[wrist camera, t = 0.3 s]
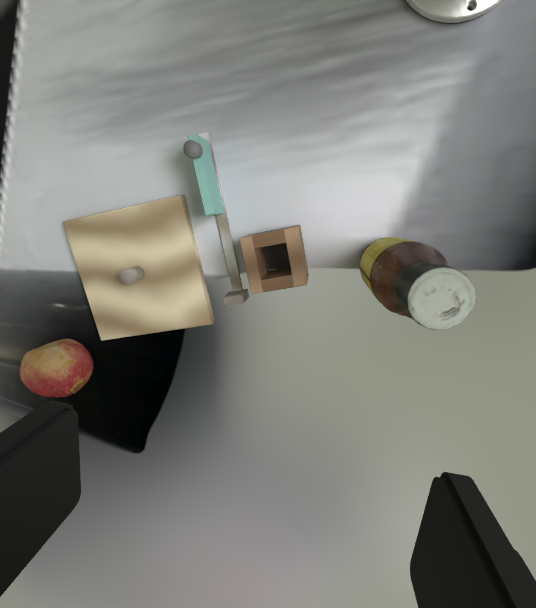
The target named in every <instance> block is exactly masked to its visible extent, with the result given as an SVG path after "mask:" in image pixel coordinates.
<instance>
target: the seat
mask: <svg viewBox="0 0 536 608" xmlns="http://www.w3.org/2000/svg"><path fill="white" fill-rule="evenodd" d="M199 136H200V137H202V138H204V139H205V140H207V141H209V146H210V150H211V155H212V159H213V164H214V169H215V173H216V178H217V182H218V187H219V191H220V196H221V201H222V205H223V210H224V213H223V214H219V215H216V217H217V222H218V226H219V231H220V235H221V240H222V244H223V249H224V253H225V257H226V262H227V266H228V271H229V275H230V280H231V284H232V289H233V291H232V292H229V293H228V294H227V295H225V296H224V297H223V300H224V305H225V306H227V305H233V304H239V303H244V302H245V301H246V300H247V299H248V297H249V294H248V289H245V290H243V288H242V284H241V279H240V274H239V270H238V265H237V261H236V256H235V251H234V247H233V242H232V238H231V233H230V228H229V224H228V219H227V215H226V210H225V205H224V201H223V196H222V191H221V187H220V182H219V178H218V173H217V168H216V164H215V159H214V155H213V150H212V145H211V141H210V136H209V132H206V133H202V134H199ZM63 225H64V228H65V231H66V234H67V237H68V240H69V243H70V246H71V249H72V252H73V255H74V258H75V261H76V264H77V268H78V271H79V274H80V277H81V280H82V283H83V286H84V289H85V292H86V295H87V298H88V301H89V304H90V307H91V310H92V314H93V317H94V320H95V323H96V326H97V329H98V332H99V335H100V338H101V341H102V340H108V339H115V338H122V337H128V336H135V335H142V334H149V333H155V332H162V331H169V330H176V329H182V328H189V327H196V326H202V325H209V324H212V323H213V322H214V321H215V320H214V316H213V312H212V308H211V304H210V300H209V295H208V292H207V288H206V283H205V279H204V275H203V271H202V266H201V262H200V258H199V254H198V250H197V246H196V242H195V237H194V233H193V229H192V225H191V221H190V217H189V213H188V209H187V204H186V200H185V196H184V195H178V196H174V197H169V198H165V199H161V200H156V201H152V202H147V203H143V204H139V205H134V206H130V207H125V208H121V209H117V210H112V211H108V212H103V213H99V214H95V215H90V216H86V217H81V218H77V219H73V220H68V221H64V222H63Z"/></svg>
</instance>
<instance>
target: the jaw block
mask: <svg viewBox="0 0 536 608" xmlns="http://www.w3.org/2000/svg"><path fill="white" fill-rule="evenodd" d="M239 239H240V243H241V248H242V253H243V257H244V262H245V267H246V272H247V276H248V281H249V286H250V290H251V294H254V293H261V292H266V291H273V290H279V289H286V288H292V287H298V286H304V285H307V280H308V275H309V274H308V269H307V263H306V257H305V251H304V245H303V239H302V233H301V228H300V225H296V226H291V227H286V228H281V229H276V230H271V231H266V232H261V233H255V234H250V235H248V236H245V237H242V238H239ZM281 243H286V244H287V250H288V255H289V261H290V266H291V267H288V268H282V269H276V270H271V271H269V270H268V265H267V260H266V255H265V250H264V247H265V246H271V245H276V244H281Z"/></svg>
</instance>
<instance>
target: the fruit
mask: <svg viewBox="0 0 536 608" xmlns="http://www.w3.org/2000/svg"><path fill="white" fill-rule="evenodd" d="M92 372H93V360H92V357H91V355H90V353H89V351H88V350H87V349H86V348H85V347H84V346H83V345H82V344H80V343H79V342H77V341H75V340H72V339H61V340H57V341H53V342H51V343H48V344H45V345H43V346H41V347H39V348H36V349H33V350H30V351H29V352H27V353H26V354H25V355H24V357H23V359H22V362H21V367H20V377H21V380H22V382H23V383H24V384H25V386H26V387H27V388H29V389H30V390H31V391H32V392H33V393H35V394H38V395H41V396H45V397H67V396H69V395H71V394H74V393H76V392H77V391H78V390H80V389H81V388H82V387H83V386H84V385H85V384H86V383H87V381H88V380H89V378H90V376H91V374H92Z"/></svg>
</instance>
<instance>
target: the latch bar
mask: <svg viewBox="0 0 536 608" xmlns="http://www.w3.org/2000/svg"><path fill="white" fill-rule="evenodd" d="M187 137H188V141H187V142H186V143H185V144H184V153H185V154H186V155H187V156H188V157H190V158H192V159H193V163H194V167H195V172H196V176H197V180H198V185H199V189H200V193H201V198H202V202H203V206H204V211H205V215H206V216H207V215H219V214H223V213H224V210H223V205H222V201H221V196H220V191H219V187H218V182H217V178H216V173H215V169H214V164H213V159H212V155H211V150H210V146H209V141H207V140H205V139H204V138H202V137H200V136H199V135H197V134H195V135H191V136H187Z"/></svg>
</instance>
